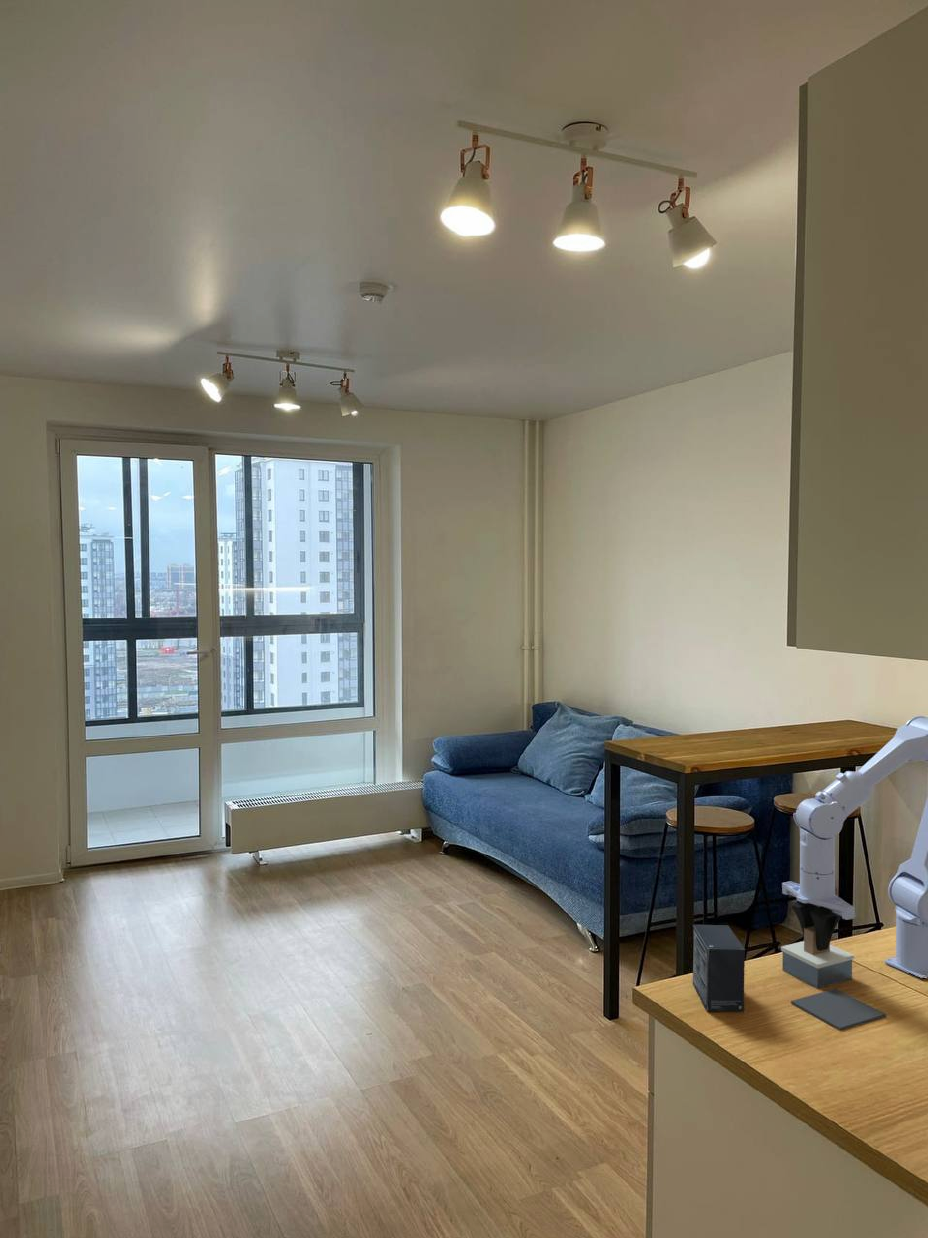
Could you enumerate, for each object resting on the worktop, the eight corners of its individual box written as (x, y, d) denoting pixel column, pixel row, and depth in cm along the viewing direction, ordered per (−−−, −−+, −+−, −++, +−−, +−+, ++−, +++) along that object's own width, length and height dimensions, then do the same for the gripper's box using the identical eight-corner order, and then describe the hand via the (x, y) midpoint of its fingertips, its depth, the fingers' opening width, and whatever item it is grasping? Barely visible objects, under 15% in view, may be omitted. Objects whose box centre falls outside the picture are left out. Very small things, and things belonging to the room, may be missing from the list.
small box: (747, 1012, 147) (747, 948, 147) (706, 1012, 147) (706, 948, 147) (729, 983, 158) (729, 923, 157) (691, 983, 158) (691, 923, 157)
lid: (816, 944, 166) (816, 916, 166) (853, 962, 159) (854, 932, 158) (780, 953, 163) (780, 924, 162) (817, 972, 155) (817, 941, 155)
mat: (835, 990, 154) (835, 988, 154) (885, 1016, 145) (885, 1013, 145) (790, 1003, 150) (790, 1000, 150) (839, 1030, 141) (839, 1027, 141)
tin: (815, 961, 166) (816, 942, 166) (851, 978, 159) (852, 958, 159) (782, 969, 163) (782, 950, 162) (817, 988, 155) (817, 967, 155)
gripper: (769, 861, 165) (769, 935, 165) (833, 885, 152) (833, 966, 152) (798, 855, 168) (798, 928, 168) (864, 878, 155) (863, 958, 155)
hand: (816, 946), depth 160 cm, fingers closed on lid
